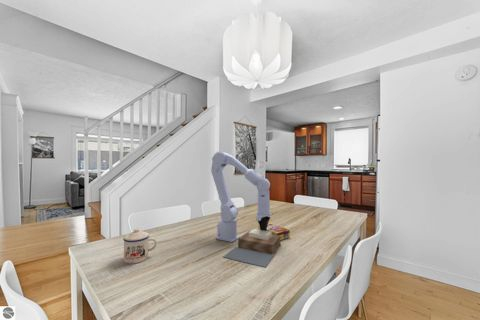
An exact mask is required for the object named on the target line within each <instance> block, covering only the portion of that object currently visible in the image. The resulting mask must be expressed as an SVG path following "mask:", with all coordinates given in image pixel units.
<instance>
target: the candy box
mask: <svg viewBox="0 0 480 320" xmlns="http://www.w3.org/2000/svg"><path fill="white" fill-rule="evenodd" d="M257 227H258V230H260V226H259V224H258V226H257ZM266 231H270V232H272V235H277V236H280V241H283V240H286V239H289V238H291V237H290V235H291V234H290V232H291V231H290V229H287V228H285V227H283V226H281V225H277V224H274V223H272V222H268V225H267V230H266Z"/></svg>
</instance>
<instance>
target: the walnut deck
mask: <svg viewBox="0 0 480 320" xmlns="http://www.w3.org/2000/svg"><path fill="white" fill-rule="evenodd" d="M250 231H251V230H248V231H246V232H245V233H244V234H242V235H241V236H240V237H239V238H238V239H237V241H238V242H237V247H239V248H244V249H249V250H253V251H258V252H263V253H268V254H272V255H274V254H275V252H276V251H277V250H278V249H279V247H280V245H281V240H280V236H277V235H272V236H271V237H270V238H269V239H268V240H263V239H258V238H253V237H249V232H250Z"/></svg>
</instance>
